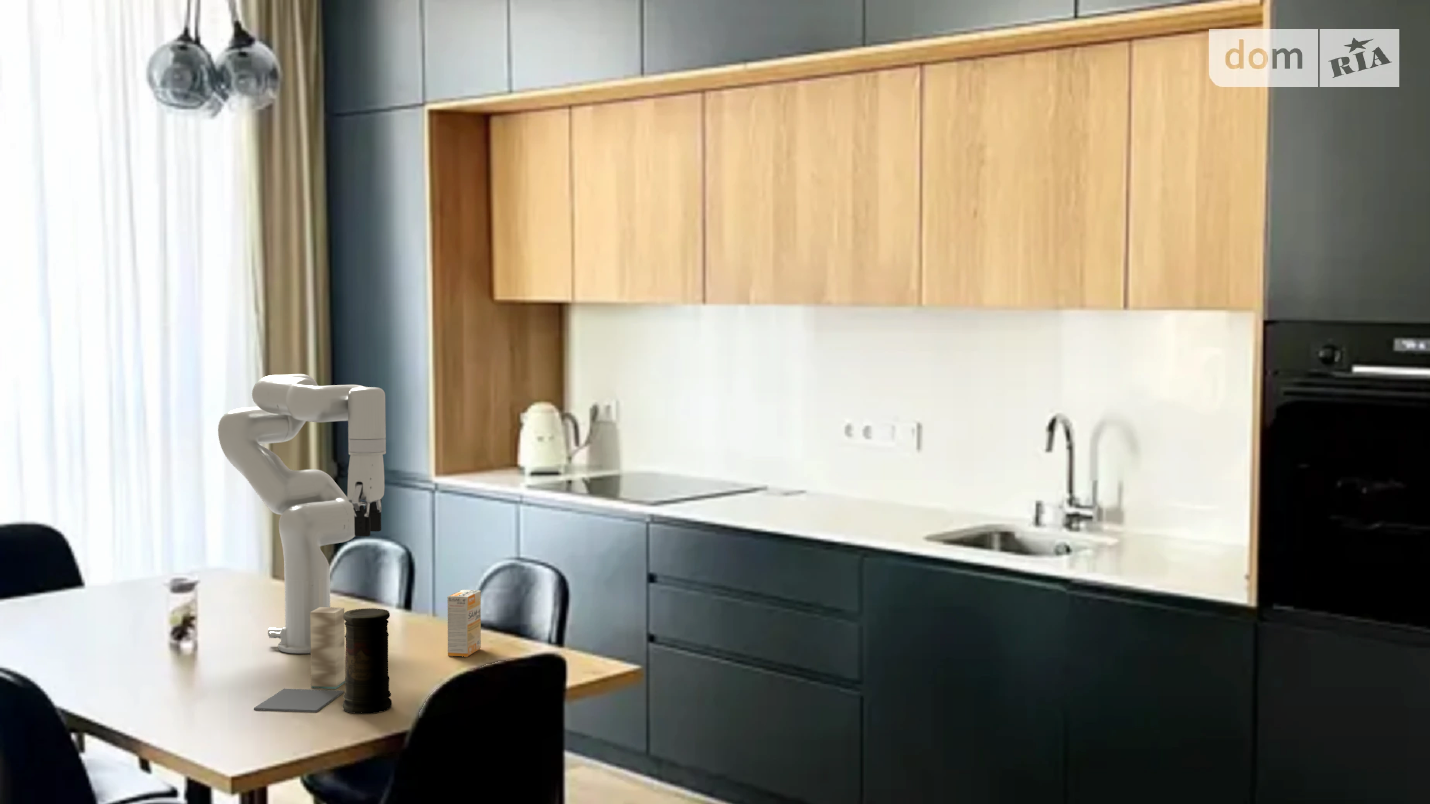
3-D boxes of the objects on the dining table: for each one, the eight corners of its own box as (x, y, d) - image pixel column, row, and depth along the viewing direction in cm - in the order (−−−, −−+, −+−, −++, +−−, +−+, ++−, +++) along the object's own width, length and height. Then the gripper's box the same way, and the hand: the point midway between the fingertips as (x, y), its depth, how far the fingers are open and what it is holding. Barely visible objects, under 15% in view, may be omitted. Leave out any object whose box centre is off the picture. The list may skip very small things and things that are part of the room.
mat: (253, 710, 273) (253, 707, 273) (284, 690, 287) (283, 688, 287) (316, 712, 272) (316, 710, 272) (343, 692, 286) (343, 690, 286)
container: (346, 701, 279) (345, 607, 278) (394, 701, 280) (394, 607, 279) (338, 715, 270) (337, 617, 269) (388, 714, 271) (387, 616, 270)
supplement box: (468, 657, 314) (467, 596, 314) (447, 656, 315) (446, 595, 315) (482, 649, 322) (481, 589, 322) (461, 647, 323) (460, 588, 323)
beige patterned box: (311, 688, 289) (310, 612, 288) (320, 681, 294) (319, 607, 293) (336, 688, 288) (335, 612, 288) (345, 682, 293) (344, 607, 292)
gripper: (363, 442, 315) (364, 527, 316) (334, 450, 298) (335, 539, 299) (398, 443, 314) (398, 527, 315) (370, 451, 297) (371, 540, 298)
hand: (368, 532), depth 307 cm, fingers open, 5 cm apart
